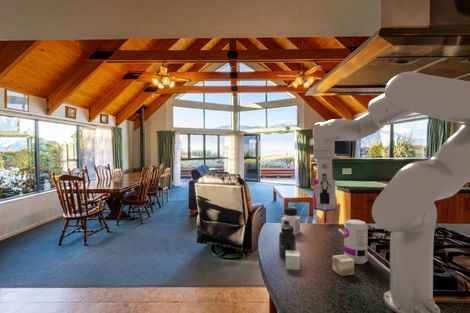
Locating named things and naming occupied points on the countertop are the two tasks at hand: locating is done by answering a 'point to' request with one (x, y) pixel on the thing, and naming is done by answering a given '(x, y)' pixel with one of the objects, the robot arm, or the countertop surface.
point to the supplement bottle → (286, 240)
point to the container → (291, 219)
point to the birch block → (343, 265)
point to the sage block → (292, 260)
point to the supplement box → (317, 197)
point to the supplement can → (355, 240)
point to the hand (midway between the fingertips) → (324, 201)
